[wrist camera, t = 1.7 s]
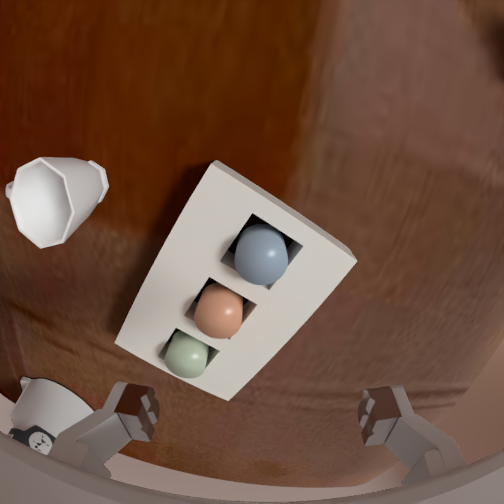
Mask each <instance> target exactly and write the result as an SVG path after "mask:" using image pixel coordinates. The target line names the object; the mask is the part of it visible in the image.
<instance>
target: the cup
mask: <svg viewBox="0 0 504 504" xmlns="http://www.w3.org/2000/svg"><path fill="white" fill-rule="evenodd" d="M108 187H109V184H108V180H107V176H106V172H105V169H104V168H102V167H101V166H99V165H98V164H97V163H95V162H94V161H92V160H91V161H88V162H86V161H84V160H80V159H76V158H53V157H40V158H38V159H36V160H34V161H32V162H30V163H28V164H26V165H24V166H22V167H20V168H18V170H17V173H16V176H15V180H14V181H13V182H11V183H9V184H7V186H6V197H8V198H9V199H10V202H11V206H12V210H13V213H14V217H15V220H16V223H17V227H18V230H19V231H20V232H21V233H22V234H24V235H25V236H26V237H27V238H28V239H29V240H31V241H32V242H33V243H34V244H35V245H37V246H38V247H39V248H40V249H41V248H45V247H49V246H53V245H57V244H61V243H64V242H65V241H66V240H67V239H68V238H69V237H70V235H71V234H72V233H73V232H74V231H75V230H76V229H77V228H78V227H79V226H80V225H81V224H82V223H83V222H84V221H85V220H86V219H87V218H88V217H89V215H90V214H91V212H92V211H93V210H94V208H95V207H96V205H97V203H99V202H102V200H103V198H104V196H105V194H106V192H107V189H108Z"/></svg>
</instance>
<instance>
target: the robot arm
mask: <svg viewBox="0 0 504 504" xmlns="http://www.w3.org/2000/svg"><path fill="white" fill-rule="evenodd" d="M20 383H21V386H22V390H23V392H22V394H21V395H20V397H19V399H18V401H17V402H16V404H15V406H14V408H13V409H12V411H11V414H10V416H11V420H12V422H13V428H12V429H11V430H10V432H9V434H7V435H6V434H4V433H2V432H1V431H0V504H504V449H502V450H500V451H497V452H496V453H493V454H491V455H489V456H487V457H485V458H482V459H480V460H478V461H475V462H473V463H471V464H468V465H466V463H465V460H464V458H463V456H462V453H461V450H460V448H459V446H458V443H457V441H455V440H454V439H452V438H451V437H449V436H448V435H446V434H445V433H444V432H442V431H441V430H439V429H438V428H437V427H435V426H434V425H432V424H431V423H429V422H428V421H427V420H425V419H424V418H422V417H421V416H420V415H418V414H415V415H414V412H413V410H412V408H411V405H410V403H409V400H408V398H407V395H406V393H405V391H404V388H403V386H402V385H396V386H389V387H388V386H387V387H380V388H373V389H366V390H365V391H364V392H363V395H362V396H363V401H361V402H360V404H359V407H358V420H359V424H360V425H361V426H362V427H363V431H362V438H363V442H364V446H369V445H376V444H383V443H385V444H384V445H385V446H386V447H387V448H388V449H389V450H390V451H391V452H392V453H393V454H394V455H395V456H396V457H397V458H398V459H399V460H400V461H401V462H402V463H403V464H404V465H405V466H406V467H408V469H410V472H409V473H408V474H407V475H406V476H405V477H404V479H403V480H402V481H401V482H402V486H400V487H396V488H392V489H387V490H382V491H378V492H372V493H367V494H361V495H355V496H349V497H341V498H334V499H324V500H313V501H296V502H243V501H226V500H215V499H206V498H198V497H190V496H183V495H177V494H171V493H166V492H161V491H156V490H151V489H147V488H142V487H138V486H134V485H130V484H126V483H123V482H119V481H116V480H112V479H110V477H111V473H110V471H109V470H108V469H107V468H106V467H105V466H104V463H105V462H106V461H107V460H109V459H110V458H111V457H112V456H113V455H115V454H116V453H117V452H118V451H119V450H120V449H122V448H123V447H124V446H125V445H126V444H127V443H128V442H130V441H131V439H136V440H141V441H147V442H151V439H152V436H153V433H154V430H155V429H154V427H153V424H154V423H155V422H157V421H158V417H159V411H160V408H159V402H158V400H157V399H156V398H155V397H154V394H155V392H154V389H153V388H152V387H147V386H141V385H136V384H130V383H124V382H119V381H118V382H117V383H115V385H114V387H113V389H112V391H111V393H110V395H109V396H108V398H107V400H106V402H105V404H104V406H103V408H102V410H101V409H98V410H97V411H95V412H94V411H93V410H92V409H91V408H90V407H89V406H88V405H87V404H86V403H85V402H84V401H83V400H82V399H80V398H79V397H78V396H76V395H75V394H74V393H72V392H71V391H69V390H68V389H66V388H64V387H63V386H61V385H59V384H57V383H55V382H52V381H50V380H46V379H30V378H27V377H22V379H21V380H20Z"/></svg>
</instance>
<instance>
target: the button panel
mask: <svg viewBox="0 0 504 504" xmlns="http://www.w3.org/2000/svg"><path fill="white" fill-rule="evenodd" d="M252 213H253V214H255V215H256V216H258V217H260V218H261V219H263V220H264V221H266V222H267V223H269V224H270V225H272V226H274V227H275V228H277V229H278V230H280V231H281V232H283V233H284V234H286V235H287V236H289V237H291V238H292V239H294V241H293V242H292V243H291V245H290V246H289V247H288V249H287V250H286V251H287V256H288V266H287V269H286V271H285V273H284V274H283V276H282V277H281V278H280V279H278V280H277V281H275V282H273V283H271V284H267V285H255V284H251V283H249V282H247V281H245V280H244V279H243V278H242V277H241V276H240V275H239V274H238V272H237V270H236V267H235V262H234V259H235V254H234V253H232V252H230V251H229V250H228V248H229V247H230V245H231V244H232V242H233V241H234V239H235V238H236V236H237V235H238V233H239V232H240V230H241V229H242V227H243V226H244V225H245V223H246V222H247V220H248V219H249V217H250V216H251V214H252ZM356 262H357V260H356V258H355V257H354V255H353V254H352V252H351V251H350V250H349V248H348V247H347V246H345V245H344V244H343V243H341V242H340V241H338V240H337V239H336V238H334V237H333V236H331V235H330V234H328V233H327V232H326V231H324V230H323V229H321V228H320V227H318V226H317V225H316V224H314V223H313V222H311V221H310V220H308V219H307V218H305V217H304V216H302V215H301V214H300V213H298V212H297V211H295V210H294V209H292V208H291V207H289V206H288V205H286V204H285V203H283V202H282V201H280V200H279V199H277V198H276V197H274V196H273V195H271V194H270V193H268V192H266V191H265V190H263V189H262V188H260V187H259V186H257V185H256V184H254V183H253V182H251V181H249V180H248V179H246V178H245V177H243V176H242V175H240V174H238V173H237V172H235V171H234V170H232V169H230V168H229V167H227V166H226V165H224V164H222V163H221V162H219V161H217V160H216V161H214V162H213V163H211V164H210V166H209V168H208V169H207V171H206V172H205V174H204V176H203V177H202V179H201V181H200V182H199V184H198V186H197V187H196V189H195V191H194V192H193V194H192V196H191V197H190V199H189V201H188V202H187V204H186V206H185V207H184V209H183V211H182V213H181V214H180V216H179V218H178V220H177V221H176V223H175V225H174V227H173V229H172V230H171V232H170V234H169V236H168V238H167V239H166V241H165V243H164V245H163V247H162V249H161V250H160V252H159V254H158V256H157V258H156V260H155V262H154V263H153V265H152V267H151V269H150V271H149V273H148V275H147V277H146V279H145V281H144V283H143V285H142V287H141V289H140V291H139V293H138V295H137V297H136V299H135V301H134V303H133V305H132V307H131V309H130V311H129V313H128V315H127V317H126V319H125V322H124V324H123V326H122V328H121V330H120V332H119V335H118V337H117V339H116V341H115V344H117V345H119V346H120V347H122V348H124V349H126V350H127V351H129V352H131V353H132V354H134V355H136V356H138V357H140V358H141V359H143V360H145V361H147V362H149V363H150V364H152V365H154V366H156V367H158V368H160V369H162V370H164V371H165V372H167V373H169V374H171V375H173V376H175V377H177V378H179V379H181V380H183V381H185V382H187V383H190V384H192V385H194V386H196V387H198V388H200V389H202V390H205V391H207V392H209V393H211V394H213V395H216V396H218V397H220V398H223V399H225V400H227V401H229V400H230V399H231V398H232V397H233V396H234V395H235V394H236V393H237V392H238V391H239V390H240V389H241V388H242V387H243V386H244V385H245V384H246V383H247V382H248V381H249V380H250V379H251V378H252V377H253V376H254V375H255V374H256V373H257V372H258V371H259V370H260V369H261V368H262V367H263V366H264V365H265V364H266V363H267V362H268V361H269V360H270V359H271V358H272V357H273V356H274V355H275V354H276V353H277V352H278V351H279V350H280V349H281V348H282V347H283V346H284V344H285V343H286V342H287V341H288V340H289V339H290V338H291V337H292V336H293V335H294V334H295V333H296V332H297V330H298V329H299V328H300V327H301V326H302V325H303V324H304V323H305V322H306V321H307V319H308V318H309V317H310V316H311V315H312V314H313V313H314V312H315V310H316V309H317V308H318V307H319V306H320V305H321V304H322V303H323V301H324V300H325V299H326V298H327V297H328V296H329V294H330V293H331V292H332V291H333V290H334V289H335V287H336V286H337V285H338V284H339V283H340V281H341V280H342V279H343V278H344V277H345V275H346V274H347V273H348V272H349V271H350V269H351V268H352V267H353V266H354V264H355V263H356ZM209 277H210V278H212V279H214V280H215V281H217V282H219V283H221V284H222V285H224V286H226V287H228V288H229V289H231V290H233V291H234V292H236V293H238V294H240V295H241V296H243V297H245V298H247V299H248V301H247V303H246V304H245V305H244V306H243V311H242V322H241V327H240V329H239V331H238V332H237V333H236V334H235V335H233V336H231V337H229V338H225V339H215V338H211V337H209V336H206V335H205V334H203V333H202V332H201V331H200V330H199V329H198V328H197V326H196V324H195V321H194V314H195V311H196V308H197V305H198V303H197V302H195V301H194V299H195V298H196V296H197V295H198V293H199V292H200V290H201V289H202V287H203V286H204V284H205V283H206V281H207V280H208V278H209ZM175 328H178V329H179V330H181V331H183V332H185V333H187V334H189V335H190V336H192V337H194V338H196V339H198V340H200V341H202V342H204V343H206V344H207V345H209V346H211V348H210V350H209V352H208V357H207V361H206V366H205V371H204V372H203V374H202V375H200V376H199V377H196V378H182V377H179V376H177V375H175V374H173V373H172V372H171V371H169V369H168V368H167V367H166V365H165V361H164V359H165V355H166V353H167V350H168V347H169V345H170V342H169V341H168V339H169V338H170V336H171V335H172V333H173V332H174V330H175Z"/></svg>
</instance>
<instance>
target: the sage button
mask: <svg viewBox="0 0 504 504" xmlns="http://www.w3.org/2000/svg"><path fill="white" fill-rule="evenodd" d="M208 352H209V345H207V344H206V343H204V342H202V341H200V340H198V339H196V338H194V337H192V336H190V335H189V334H187V333H185V332H183V331H178V332H176V333H175V334H174V335H173V337H172V339H171V342H170V345H169V347H168V350H167V353H166V355H165V359H164V361H165V365H166V367H167V368H168V369H169V371H171V372H172V373H173V374H175V375H177V376H179V377H182V378H196V377H199V376H200V375H202V374H203V372H204V371H205V366H206V361H207V357H208Z"/></svg>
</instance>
